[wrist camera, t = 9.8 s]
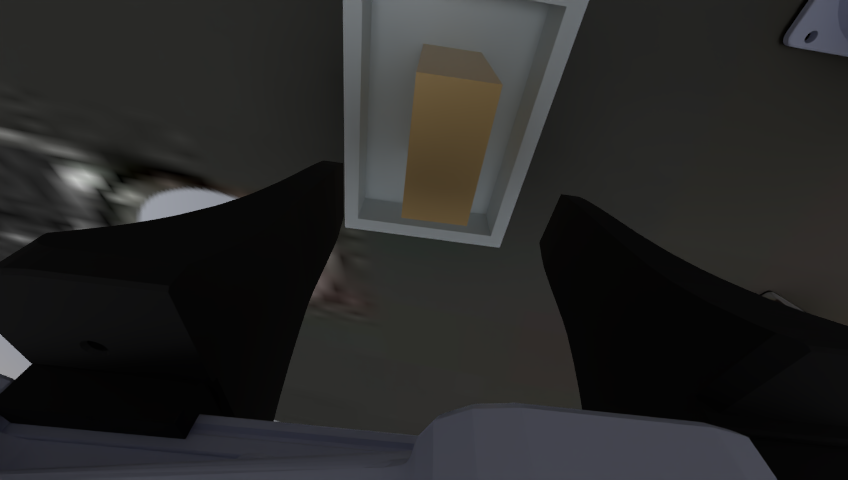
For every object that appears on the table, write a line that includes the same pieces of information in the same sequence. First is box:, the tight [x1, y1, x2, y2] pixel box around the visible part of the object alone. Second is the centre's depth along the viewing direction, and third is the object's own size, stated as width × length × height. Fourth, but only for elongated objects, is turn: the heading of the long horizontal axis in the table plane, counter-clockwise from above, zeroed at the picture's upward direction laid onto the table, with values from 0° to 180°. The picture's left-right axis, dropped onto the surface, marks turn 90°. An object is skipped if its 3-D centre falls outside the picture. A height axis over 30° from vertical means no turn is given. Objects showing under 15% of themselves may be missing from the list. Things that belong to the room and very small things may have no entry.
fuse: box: [401, 44, 503, 226], centre depth 16 cm, size 3×6×7 cm, turn 173°
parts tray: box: [343, 0, 589, 248], centre depth 18 cm, size 10×14×3 cm
